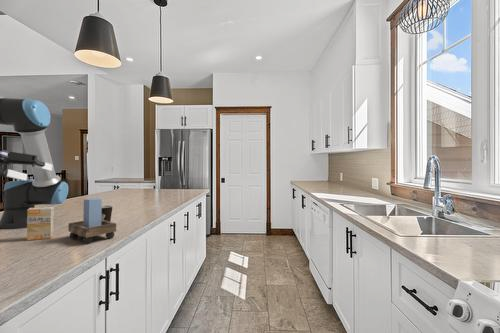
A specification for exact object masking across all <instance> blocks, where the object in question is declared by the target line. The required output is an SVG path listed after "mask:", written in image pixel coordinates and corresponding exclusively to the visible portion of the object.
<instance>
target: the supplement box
mask: <svg viewBox="0 0 500 333" xmlns="http://www.w3.org/2000/svg"><path fill="white" fill-rule="evenodd" d="M54 210H55V208H54V206H50V207H49V206H47V207H45V206H43V207H35V208H29V209H28V211H27V227H26V241H36V240H38V241H39V240H46V239H49V240H51V239H52V238H53V236H54V217H55V216H54Z"/></svg>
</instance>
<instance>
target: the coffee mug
mask: <svg viewBox="0 0 500 333" xmlns="http://www.w3.org/2000/svg"><path fill="white" fill-rule="evenodd" d="M112 213H113V205H106V204H105V205H104V204H102V213H101V220H105V221H109V222H112V220H111V219H112Z"/></svg>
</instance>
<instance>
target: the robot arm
mask: <svg viewBox="0 0 500 333" xmlns="http://www.w3.org/2000/svg"><path fill="white" fill-rule="evenodd" d="M50 123H51V113H50V110H49V108H48V106H46V104H45V103H43V102H42V101H40V100H35V99H30V98H9V97H0V125H3V126H4V125H5V126H13V129H14V132H15V133H18V134H19V135H20V137H21V141H22V143H23V147H24V150H25V153H21V152H16V151H15V152H14V151H8V150H5V149H0V177H6V178H10V179H15V180H12V181H7V182H5V184H4V187H3V213H2V215H1V217H0V229H5V230H7V229H9V230H10V229H12V230H13V229H21V228H27V211H28V209H29V208H36V207H35V206H36V205H37V206H38V205H39V206H40V205H42V206H43V205H46V206H49V205H51V206H53V205H61V204H63V203H64V202H65V201H66V200H67V197H68V194H69V185H68V183H67V182H65V181H62V178H61V177H60V176H59V175H57V174H56V170H55V166H54V163H53V160H52V159H53V158H52V155H51V152H50V148H49V145H48V141H47V137H46V133H45V131H47V129H48V126H49V125H50ZM9 165H27V166H30V169H31V171H32V175H33V178H34V179H30V178H29V179H28V174H27V173H25V172H21V171H16V170H12V169H9V168H8V169H7V168H6V167H5V168H4V167H3V166H9Z"/></svg>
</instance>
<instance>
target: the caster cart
mask: <svg viewBox="0 0 500 333" xmlns="http://www.w3.org/2000/svg"><path fill="white" fill-rule="evenodd" d="M67 227H68V232H69V237H70V238H71V239H73V240H74V239H77V238H78V237H83V238H82V242H83V243H84V244H86V245H88V244H89V245H90V244H91V243H92V242H93V237H96V236H100V235H105V238H106V239H109V240H111V239H113V238H115V233H116V232H117V223H115V222H112V221H110V222H109V221H105V220H101V226H96V227H90V228H87V227H84V226H83V220H81V221H75V222H73V221H72V222H68V226H67Z"/></svg>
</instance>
